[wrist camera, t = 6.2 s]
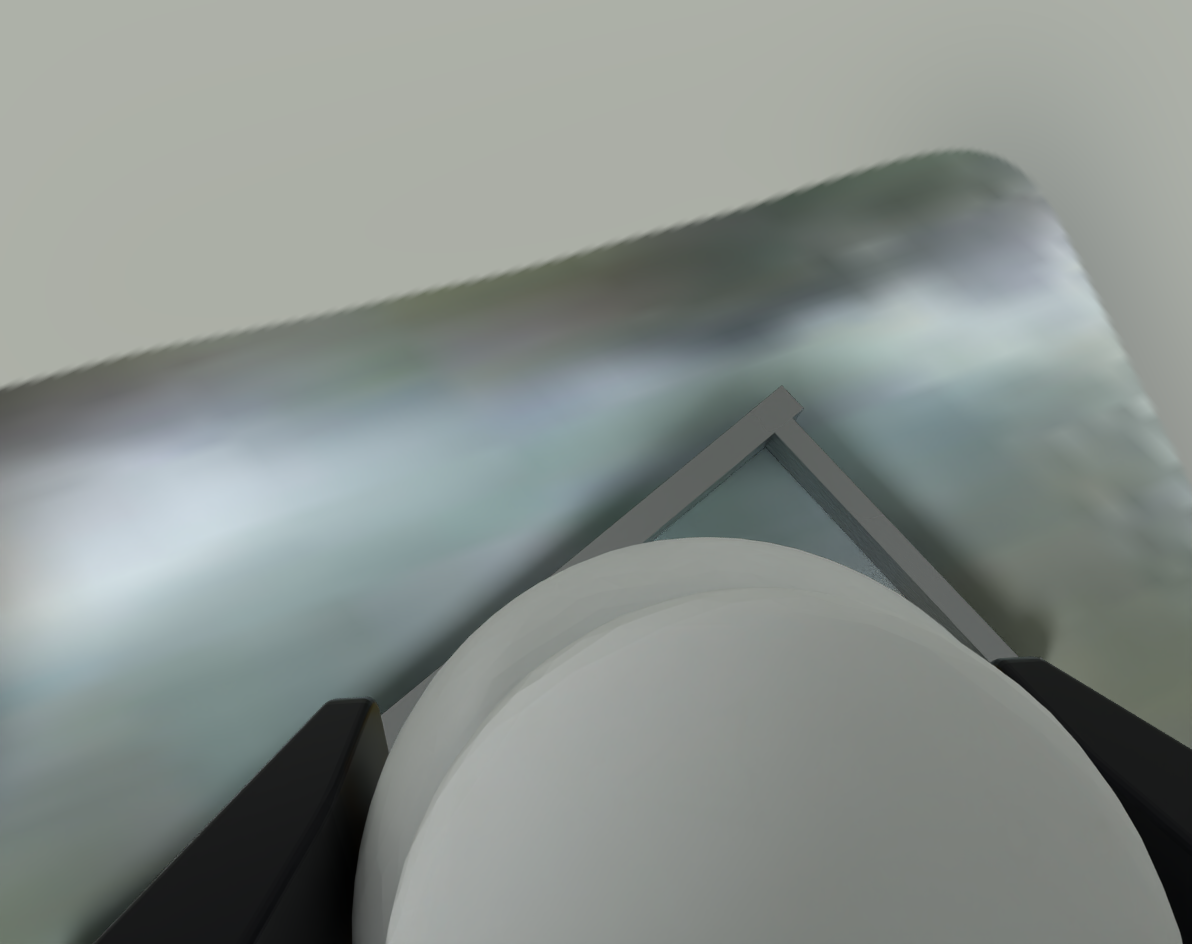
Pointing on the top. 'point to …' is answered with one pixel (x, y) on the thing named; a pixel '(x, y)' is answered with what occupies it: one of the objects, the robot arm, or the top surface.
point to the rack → (829, 489)
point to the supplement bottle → (739, 775)
